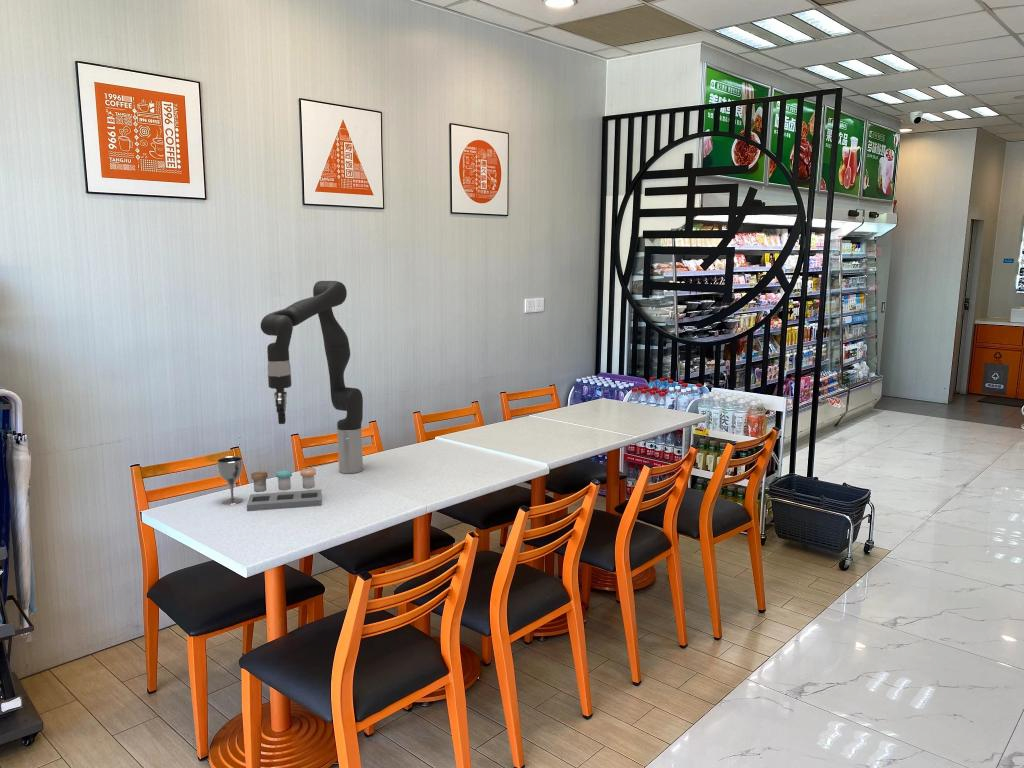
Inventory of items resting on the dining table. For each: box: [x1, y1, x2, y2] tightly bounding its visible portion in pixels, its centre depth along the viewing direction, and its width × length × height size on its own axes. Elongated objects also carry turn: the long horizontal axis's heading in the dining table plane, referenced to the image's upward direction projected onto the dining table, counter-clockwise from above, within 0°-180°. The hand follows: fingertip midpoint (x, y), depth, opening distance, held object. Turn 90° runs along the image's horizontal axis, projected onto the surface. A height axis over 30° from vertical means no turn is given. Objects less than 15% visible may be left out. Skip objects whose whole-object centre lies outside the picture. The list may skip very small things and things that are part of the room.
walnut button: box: [250, 470, 268, 493], centre depth 262 cm, size 5×5×6 cm
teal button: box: [275, 469, 293, 491], centre depth 263 cm, size 5×5×6 cm
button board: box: [246, 489, 322, 512], centre depth 265 cm, size 12×24×2 cm, turn 103°
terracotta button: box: [299, 467, 317, 490], centre depth 265 cm, size 5×5×6 cm
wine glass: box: [217, 455, 244, 506], centre depth 265 cm, size 8×8×15 cm
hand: (282, 422), depth 265 cm, fingers closed
